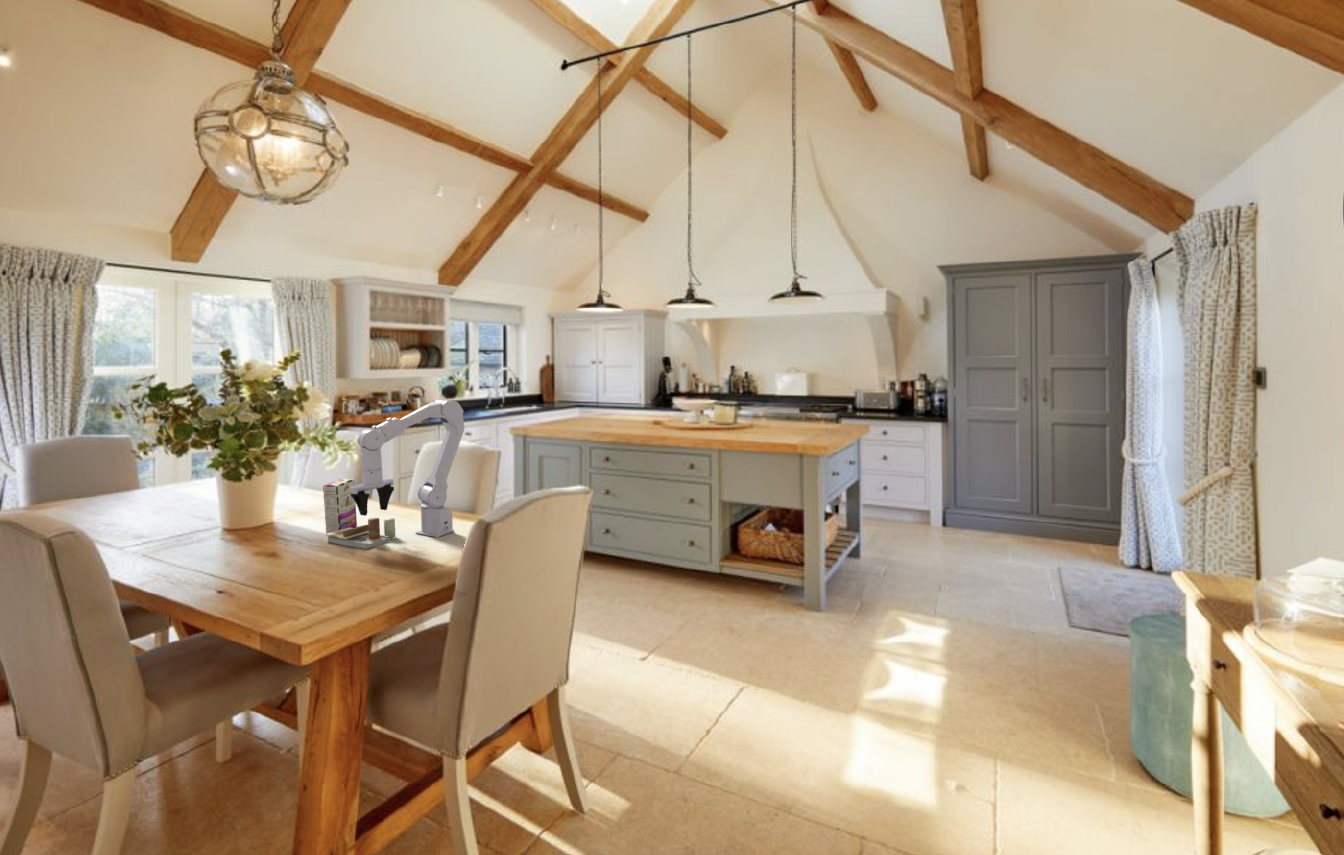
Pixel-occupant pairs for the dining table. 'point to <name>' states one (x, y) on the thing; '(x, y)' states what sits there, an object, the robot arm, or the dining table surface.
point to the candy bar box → (339, 505)
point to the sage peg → (389, 527)
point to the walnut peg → (374, 528)
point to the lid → (349, 532)
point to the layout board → (360, 541)
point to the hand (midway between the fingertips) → (373, 512)
